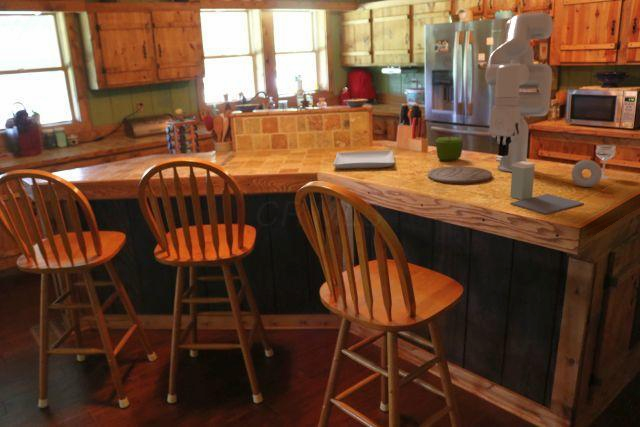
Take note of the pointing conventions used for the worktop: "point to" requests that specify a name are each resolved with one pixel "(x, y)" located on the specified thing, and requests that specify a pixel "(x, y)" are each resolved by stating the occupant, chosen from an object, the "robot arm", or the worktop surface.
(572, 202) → the charcoal mat
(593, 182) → the donut
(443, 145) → the green bell pepper
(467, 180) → the trivet
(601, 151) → the wineglass
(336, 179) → the worktop surface
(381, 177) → the worktop surface
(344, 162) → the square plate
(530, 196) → the sage block
